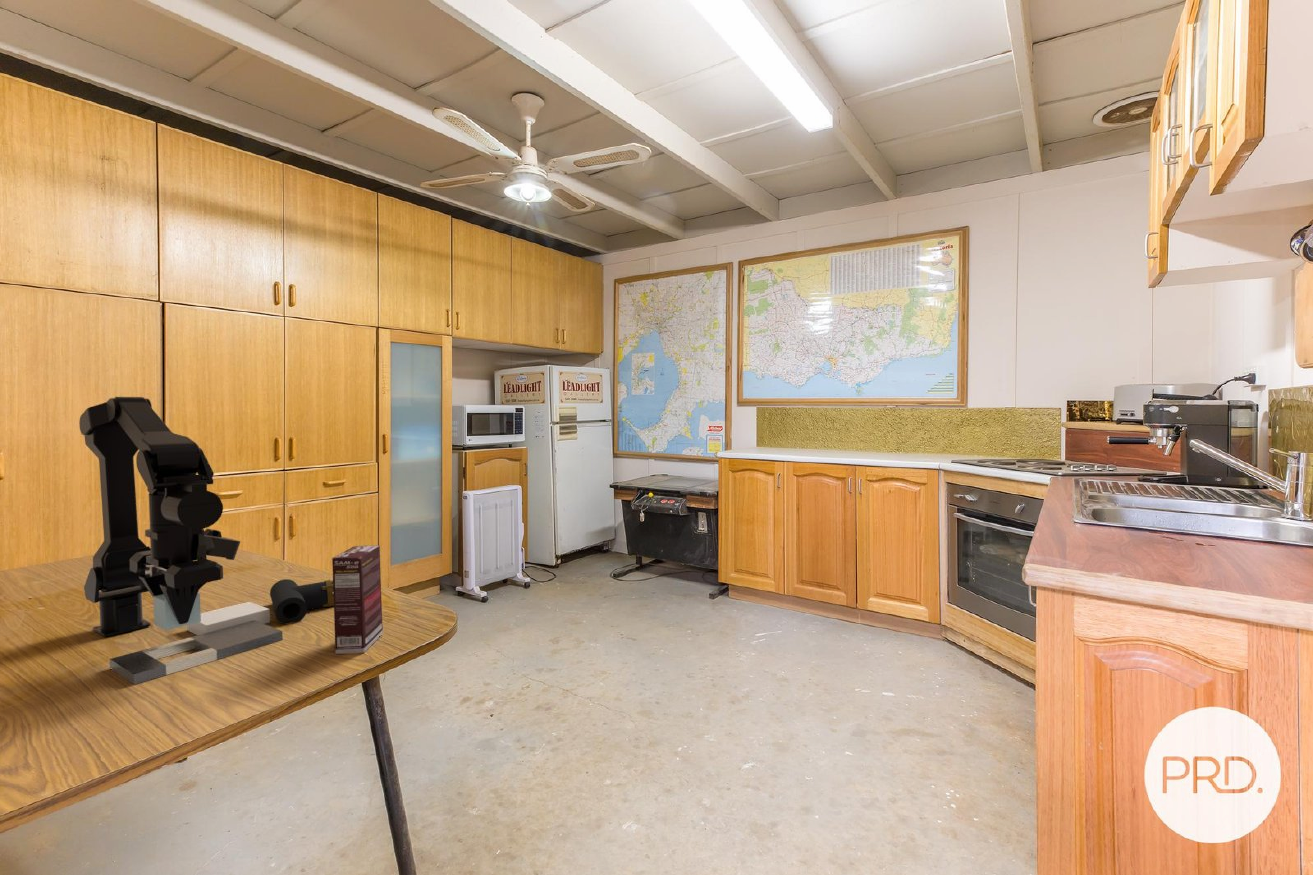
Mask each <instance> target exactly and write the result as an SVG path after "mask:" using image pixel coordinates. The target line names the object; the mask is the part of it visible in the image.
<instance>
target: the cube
mask: <svg viewBox="0 0 1313 875" xmlns="http://www.w3.org/2000/svg"><path fill="white" fill-rule="evenodd" d="M153 597H154V598H153ZM152 598H153V616H154V617H153V618H154V620H153V621H154V626H156V627H158V628H160V629H162V630H164V631H169V630H170V631H171V630H173V629H177V628H182V627H186V626H187V625H190V624H194V623H198V622H201V613H202V612H201V593H199V592H198V593H197V596H196V599H195V602H194V605H193V608H192V611H191V615H190V618H189V621H188V622H187V623H184V624H179V623H178V621H177V619H176V617H175V616H174V614H173V612H172V610H171V608H170V606H169V603H168V601H167V599H166V597H165V596H164V594H163V595H158V596H152Z"/></svg>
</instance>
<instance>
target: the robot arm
mask: <svg viewBox="0 0 1313 875" xmlns="http://www.w3.org/2000/svg"><path fill="white" fill-rule="evenodd" d="M78 423H79V431H80V434H81V435H82V436H83V437H84V443H85V445H86V446H87V448H88V449H89V450H90V451H91V452H92V453H93V454H94V456H96V457H97V458H98V465H99V466H98V468H99V482H100V494H101V498H100V499H101V512H102V525H103V526H102V527H103V542H102V543H101V545H100V546H99V547H98V549H97V550H96V552H95V554H93V557H92V567H91V568H90V570H89V572H88V575H87V578H86V580H85V583H84V586H83V590H84V596H85V599H86V600H88V601H89V602H91V603H93V604H95V603H96V604H97V603H99V623H100V624H99V625H96V626H93V627H92V630H93V632H95V633H97V634H99V635H100V636H102V637H104V638H105V637H110V636H115V635H119V634H124V633H127V632H132V631H135V630H140V629H144V628H148V627H150V626H151V624H152V623H151V622H149V621H148V620H145V619H143V618H144V617H143V597H142V594H143V593H147V592H149V593H150V595H151V596H152V598H153V599H154V597H153V596H158V595H163V594H164V596H165V597H166V599H167V601H168V603H169V606H170V608H171V610H172V612H173V614H174V616H175V617H176V619H177V621H178V623H179V624H184V623H187V622H188V621H189V618H190V615H191V611H192V608H193V605H194V602H195V599H196V596H197V593H199V591H200V589H201V588H203V587H204V586H205V585H206V584H207V583H210V582H216V581H219V580H223V579H224V566H223V565H222V564H220V563H218V562H217V561H215V560H211V559H207V556H210V557H216V558H225V560H228V561H229V560H230V561H234V560H236V559H235V558H236V557H237V556H236V555H237V553H238V549H239V547H240V544H241V540H237V539H233V538H229V537H223V536H222V532H221V530H217V529H211V528H210V527H211V526H213V525H214V524H216V523H217V522H218V521H219V519H220V518H221V516H222V514H223V512H224V504H223V502H222V499H221V498H220V497H219V496H218V494H216V493H214V492H212V491H210V490H208V485H213V484H214V479H213V477H214V475H215V473H214V471H213V469H212V467H211V465H210V463H209V461H208V458H207V457H206V455H205V452H204V451H203V448H200V446H199V445H198V444H197V443H196V442H195V441H194V440H192V439H191V438H189V437H188V436H185V435H181V434H177V433H174V432H172V431H171V429H170V428H169V426H168V425H167V424H166V423H165V422H164V421H163V420H162V419H161V417H160V416H159V414H157V413H156V411H155V410H154V409H153V407H152V403H151V400H150V399H149V398H145V397H144V396H115V397H110V398H109V399H108V400H107V401H106V402H103V403H99V404H95V405H93V406H89V407H87V408H86V409H85V410H84V411H83V412H82V414H81V415H80V417H79V422H78ZM135 456H136V461H135V462H136V469H137V470H138V473H139V475H140V477H141V479H142V480H143V482H144V484H145V485H146V488H147V492H148V509H149V513H148V514H149V529H145V530H144V536H145V537H147V538H149V539H150V540H149V542H150V543H149V544H150V546H147V545H146V544H145V543H144V542H143V541H142V539H141V538H139V524H138V511H137V510H138V508H137V494H136V478H135V464H134V463H135V462H134V460H135V459H134V457H135Z"/></svg>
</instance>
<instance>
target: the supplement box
mask: <svg viewBox="0 0 1313 875" xmlns="http://www.w3.org/2000/svg"><path fill="white" fill-rule="evenodd" d="M380 548H381V547H380V545H374V544H373V545H355V546H354V545H353V546H352V547H350V548H349V549H345V550H344V551H343V552H341V553H339V554H337V555H335V556H334V557H332V558H331V561H332V562H331V564H332V580H333V594H334V605H333V618H334V619H333V620H334V649H335V650H334V651H335V652H334V653H335V655H345V654H346V655H349V654H364V653H365V652H367V651H368V649H369V648H370V647H371V646H372V645H373V644H375V642H376V641H378V639H380V637H382V635H383V634H384V631H383V629H384V628H383V627H384V626H383V608H382V607H383V606H382V582H381V581H382V580H381V577H382V576H381V572H382V571H381V553H380V552H381V551H380V550H381V549H380ZM382 633H383V634H382ZM379 636H380V637H379Z"/></svg>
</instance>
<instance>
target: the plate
mask: <svg viewBox="0 0 1313 875" xmlns="http://www.w3.org/2000/svg"><path fill="white" fill-rule="evenodd" d="M283 638H284V636H283V630H280V629H278V628H276V627H273V626H272V625H271V626H270V625H268V624H267V623H266V624H263V623H260V622H258V621H255V620H253V621H249V622H246V623H242V624H238V625H235V626H231V627H227V628H223V629H220V630H216V631H212V632H208V633H205V634H201V635H194V636H190V637H187V638H183V639H179V640H175V641H172V642H168V643H164V644H160V645H157V646H152V647H149V648H145V649H141V650H138V651H134V652H131V653H126V654H122V655H120V656H116V657H112V658H109V669H110V668H112V669H113V670H114V671H115V672H114V671H113V670H112V671H113V672H114V673H116V674H117V673H118V675H119V676H120V677H122V678H123V679H125V680H127V681H128V682H130V683H131V684H133V685H138V684H142V683H145V682H149V681H151V679H152V680H154V678H155V679H158V678H161V677H164V676H168V675H171V674H175V673H178V672H181V671H184V670H188V669H190V668H194V667H198V666H201V665H204V664H207V663H210V662H214V661H218V660H220V659H223V658H227V657H231V656H235V655H237V654H240V653H244V652H247V651H250V650H253V649H257V648H260V647H263V646H267V645H270V644H273V643H278V642H280V641H282V640H284V639H283ZM193 649H194V650H196V652H193V653H189V654H186V655H183V656H178V657H175V658H173V659H172V658H171V659H169V660H165V661H159V659H162V658H165V657H169V656H173V655H176V654H177V655H178V654H181V653H184V652H187V651H191V650H193ZM197 650H198V651H197ZM141 682H142V683H141Z"/></svg>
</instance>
